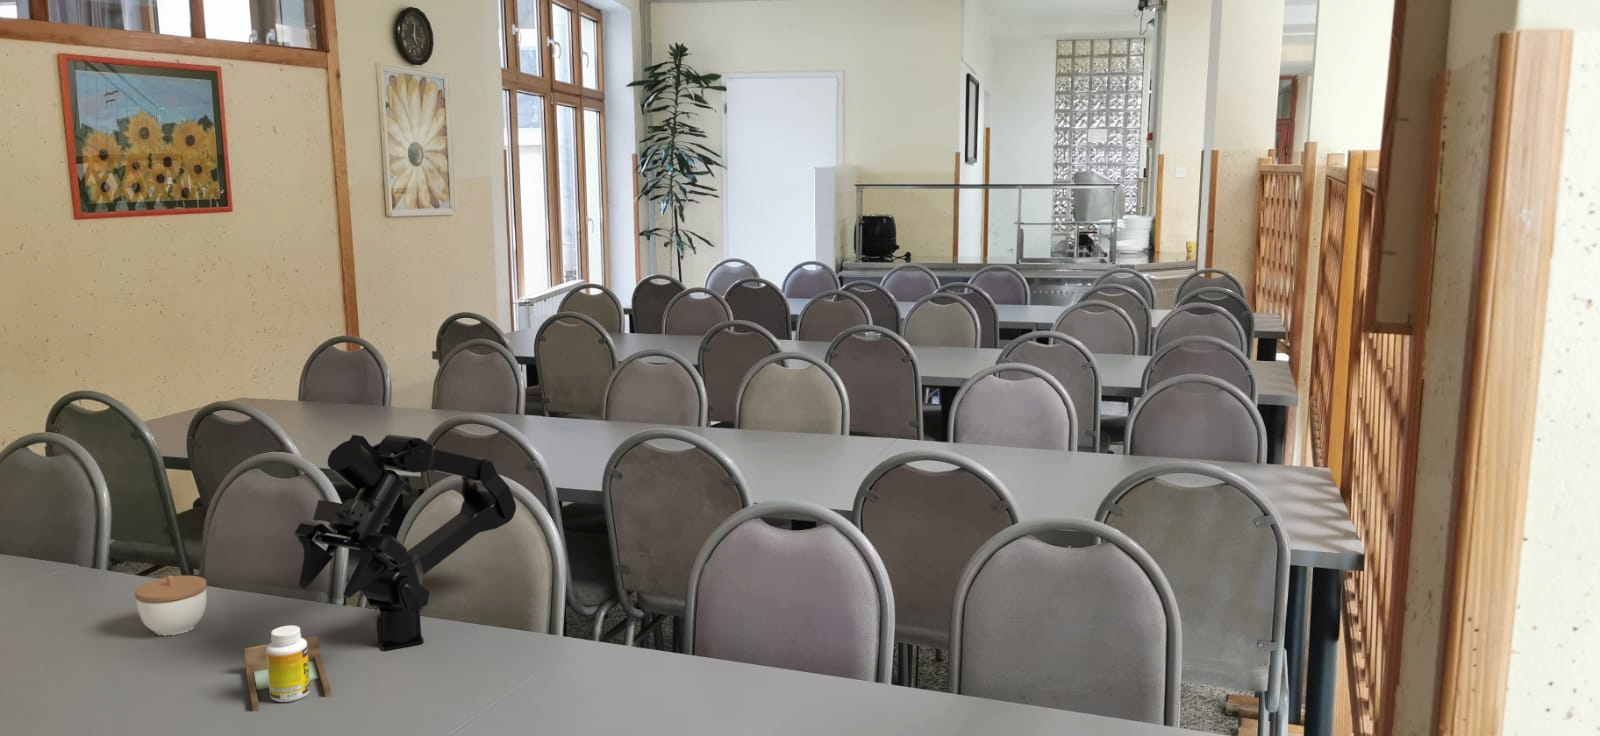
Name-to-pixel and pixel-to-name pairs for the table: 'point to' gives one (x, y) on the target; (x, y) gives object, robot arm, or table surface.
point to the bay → (258, 666)
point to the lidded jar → (172, 603)
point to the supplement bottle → (288, 665)
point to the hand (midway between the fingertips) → (323, 592)
